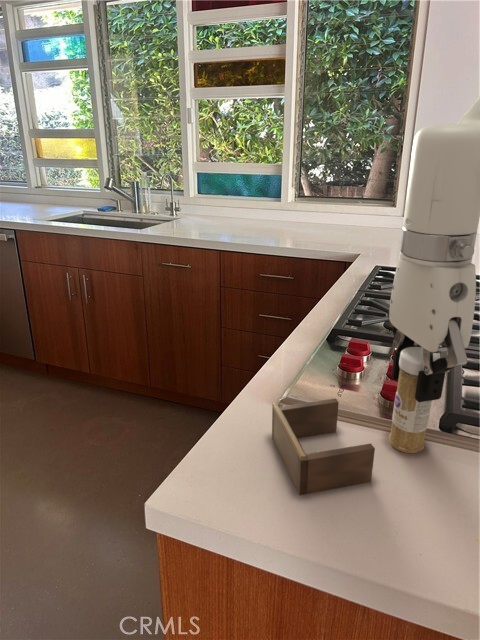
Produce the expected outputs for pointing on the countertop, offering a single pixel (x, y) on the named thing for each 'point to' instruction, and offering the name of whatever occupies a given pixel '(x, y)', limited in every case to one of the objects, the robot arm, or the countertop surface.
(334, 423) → the u-shaped bracket
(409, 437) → the sprinkles bottle
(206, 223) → the countertop surface
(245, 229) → the countertop surface
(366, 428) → the countertop surface
